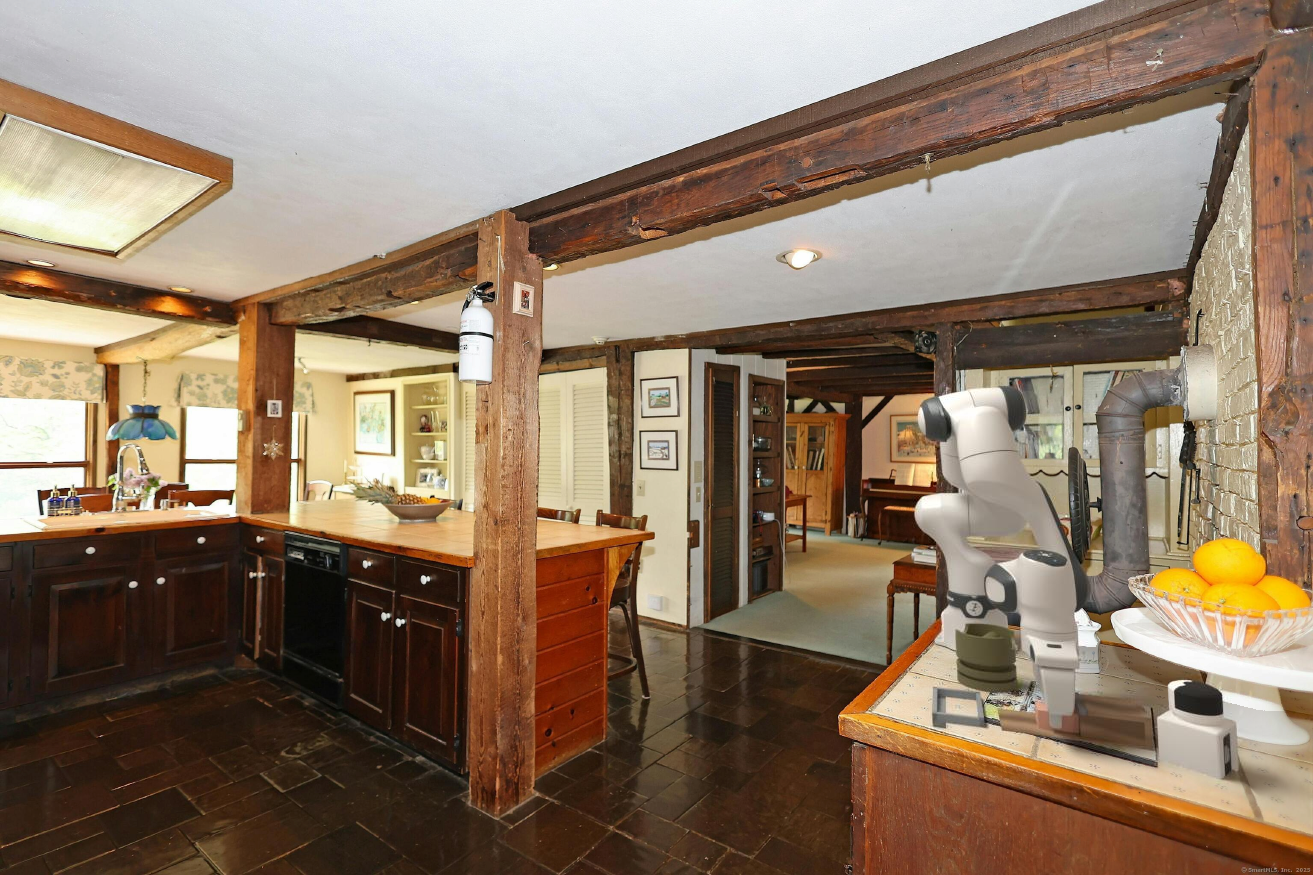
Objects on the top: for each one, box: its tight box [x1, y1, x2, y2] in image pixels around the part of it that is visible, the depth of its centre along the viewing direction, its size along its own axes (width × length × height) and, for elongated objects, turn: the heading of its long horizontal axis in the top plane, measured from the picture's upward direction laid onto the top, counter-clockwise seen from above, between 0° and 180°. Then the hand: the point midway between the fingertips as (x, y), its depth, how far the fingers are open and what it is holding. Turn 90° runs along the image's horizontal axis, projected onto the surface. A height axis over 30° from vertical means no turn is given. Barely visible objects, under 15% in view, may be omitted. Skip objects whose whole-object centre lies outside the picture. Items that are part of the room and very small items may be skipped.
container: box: [1156, 679, 1240, 780], centre depth 99 cm, size 8×8×13 cm
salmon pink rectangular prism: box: [1034, 701, 1079, 733], centre depth 112 cm, size 4×10×3 cm, turn 66°
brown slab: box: [996, 691, 1156, 751], centre depth 112 cm, size 10×22×6 cm, turn 66°
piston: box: [955, 623, 1018, 694], centre depth 134 cm, size 11×12×11 cm
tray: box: [931, 686, 986, 729], centre depth 121 cm, size 14×9×2 cm, turn 156°
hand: (1052, 720), depth 113 cm, fingers closed on salmon pink rectangular prism, 4 cm apart
